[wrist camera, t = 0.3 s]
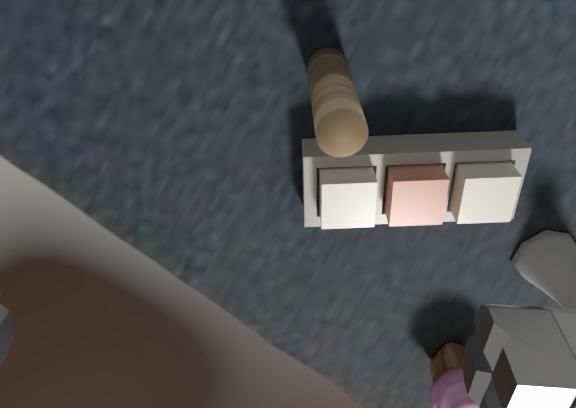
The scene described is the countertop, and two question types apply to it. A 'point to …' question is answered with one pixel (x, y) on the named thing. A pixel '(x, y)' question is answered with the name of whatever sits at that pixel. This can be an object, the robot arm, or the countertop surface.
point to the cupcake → (449, 379)
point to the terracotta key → (416, 194)
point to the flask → (550, 265)
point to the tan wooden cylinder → (335, 104)
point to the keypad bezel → (412, 161)
